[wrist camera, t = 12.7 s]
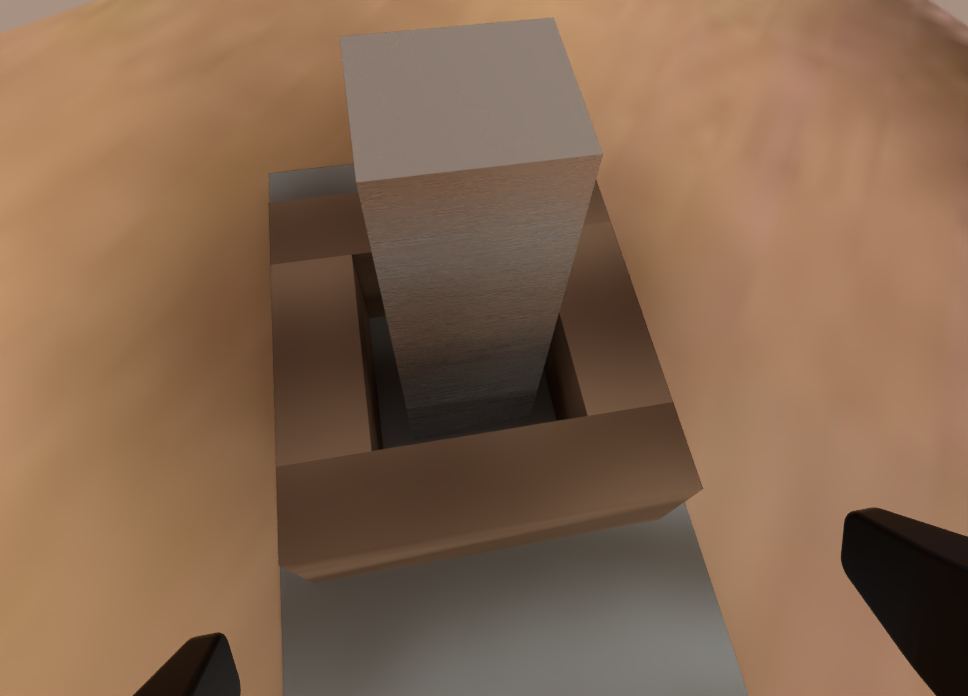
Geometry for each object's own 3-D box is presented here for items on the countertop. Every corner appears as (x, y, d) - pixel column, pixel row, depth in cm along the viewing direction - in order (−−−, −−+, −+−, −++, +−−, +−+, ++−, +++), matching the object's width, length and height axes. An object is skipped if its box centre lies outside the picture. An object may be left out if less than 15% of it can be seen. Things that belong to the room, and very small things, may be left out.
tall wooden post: (528, 421, 21) (603, 153, 10) (413, 440, 21) (356, 182, 9) (505, 322, 23) (547, 1, 12) (399, 337, 22) (337, 18, 11)
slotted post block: (737, 695, 18) (822, 707, 14) (294, 794, 17) (236, 840, 12) (563, 153, 28) (581, 62, 24) (273, 186, 26) (237, 95, 22)
